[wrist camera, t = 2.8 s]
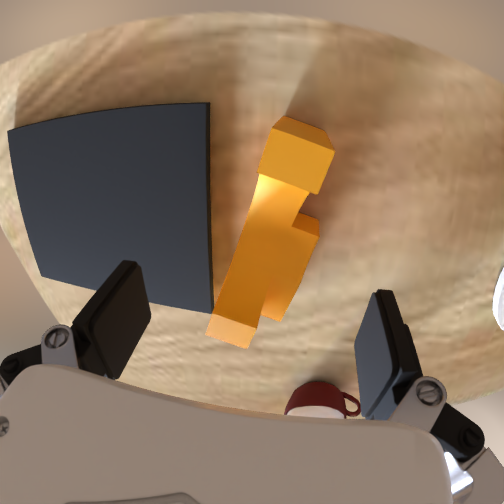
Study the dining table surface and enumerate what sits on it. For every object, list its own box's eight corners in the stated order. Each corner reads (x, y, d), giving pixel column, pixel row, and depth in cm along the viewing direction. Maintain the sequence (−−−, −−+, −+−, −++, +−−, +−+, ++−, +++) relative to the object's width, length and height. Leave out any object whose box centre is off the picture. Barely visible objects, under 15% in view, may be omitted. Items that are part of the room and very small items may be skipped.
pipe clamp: (284, 292, 23) (274, 357, 17) (230, 273, 22) (205, 334, 17) (352, 142, 16) (375, 169, 11) (283, 115, 16) (271, 127, 11)
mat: (210, 102, 16) (206, 103, 16) (214, 308, 25) (211, 314, 24) (13, 129, 19) (7, 131, 18) (45, 272, 27) (41, 276, 26)
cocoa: (365, 378, 26) (369, 488, 16) (344, 407, 30) (342, 502, 20) (273, 365, 27) (251, 481, 17) (264, 397, 31) (244, 494, 20)
